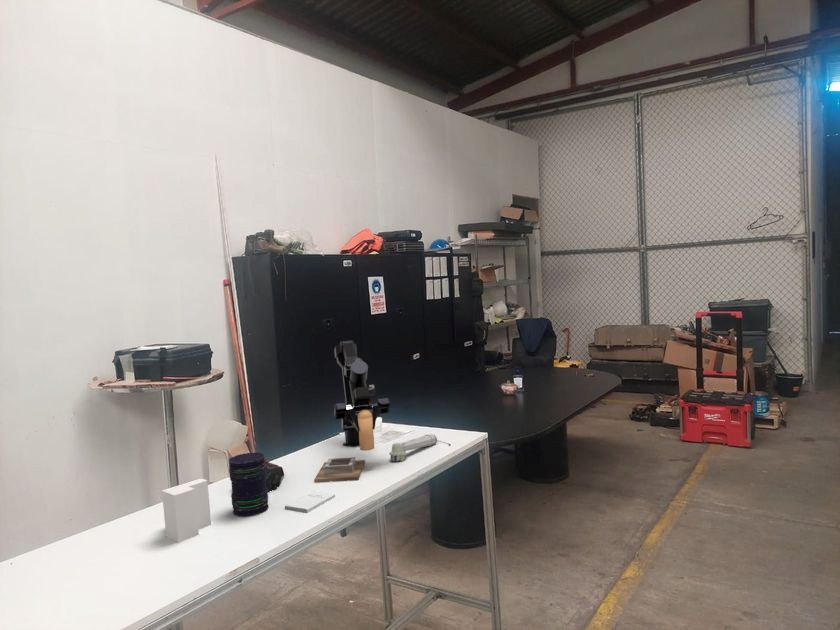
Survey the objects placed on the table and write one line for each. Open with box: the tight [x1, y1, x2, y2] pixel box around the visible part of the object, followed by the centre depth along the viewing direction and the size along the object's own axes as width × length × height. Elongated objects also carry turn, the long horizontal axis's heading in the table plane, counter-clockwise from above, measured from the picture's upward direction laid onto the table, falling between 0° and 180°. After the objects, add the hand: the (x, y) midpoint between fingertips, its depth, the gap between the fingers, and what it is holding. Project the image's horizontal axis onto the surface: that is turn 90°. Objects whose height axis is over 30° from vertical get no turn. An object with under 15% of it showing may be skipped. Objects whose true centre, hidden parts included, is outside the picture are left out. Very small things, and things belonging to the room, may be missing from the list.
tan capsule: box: [358, 410, 375, 452], centre depth 194 cm, size 5×5×13 cm
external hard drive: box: [284, 490, 336, 514], centre depth 166 cm, size 2×8×12 cm
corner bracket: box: [161, 478, 212, 544], centre depth 153 cm, size 11×11×12 cm
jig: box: [314, 457, 366, 483], centre depth 193 cm, size 18×14×3 cm
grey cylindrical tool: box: [389, 433, 438, 462], centre depth 210 cm, size 5×7×25 cm
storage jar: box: [228, 452, 269, 518], centre depth 164 cm, size 10×10×15 cm
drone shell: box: [264, 459, 285, 493], centre depth 187 cm, size 21×20×8 cm
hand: (366, 429), depth 192 cm, fingers closed on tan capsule, 5 cm apart
